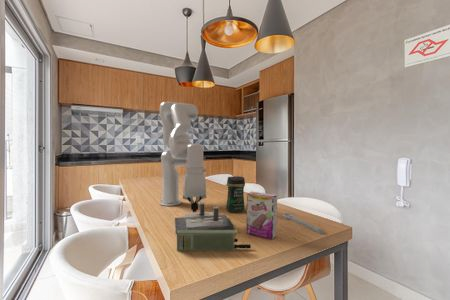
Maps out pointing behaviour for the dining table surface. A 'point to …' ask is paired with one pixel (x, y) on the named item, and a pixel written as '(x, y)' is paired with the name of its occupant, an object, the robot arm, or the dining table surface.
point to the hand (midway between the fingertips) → (194, 211)
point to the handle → (216, 213)
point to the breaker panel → (202, 222)
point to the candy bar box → (261, 214)
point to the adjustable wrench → (302, 223)
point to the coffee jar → (235, 194)
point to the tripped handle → (202, 208)
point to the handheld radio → (208, 240)
